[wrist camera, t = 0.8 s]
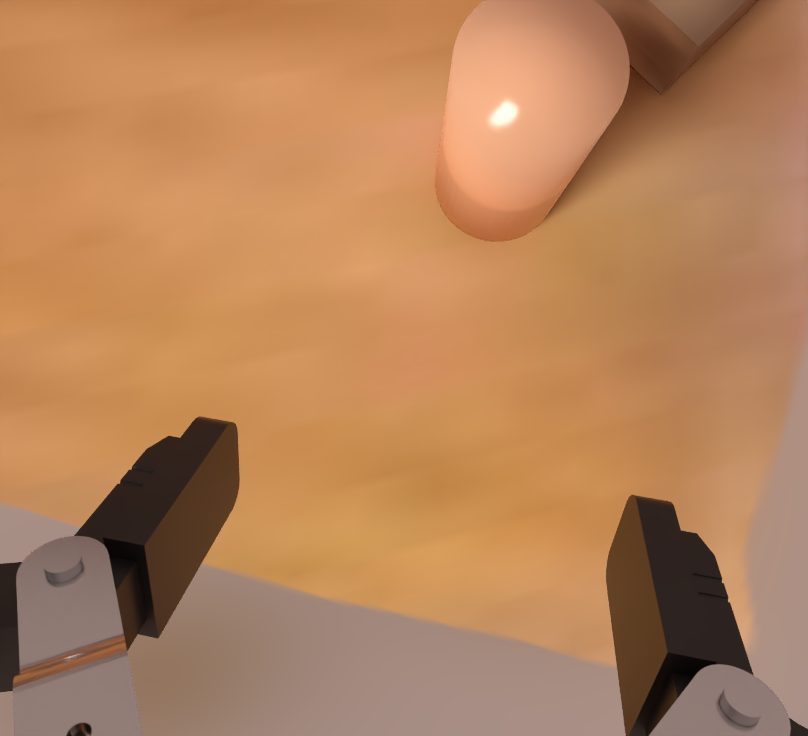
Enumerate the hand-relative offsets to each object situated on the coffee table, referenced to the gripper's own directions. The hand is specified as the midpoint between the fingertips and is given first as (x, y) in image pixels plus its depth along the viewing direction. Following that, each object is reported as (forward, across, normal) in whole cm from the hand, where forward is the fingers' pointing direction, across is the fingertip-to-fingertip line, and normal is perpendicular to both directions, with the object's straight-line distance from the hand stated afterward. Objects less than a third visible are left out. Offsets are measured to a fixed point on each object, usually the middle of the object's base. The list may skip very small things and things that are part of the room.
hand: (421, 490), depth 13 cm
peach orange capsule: (+22, 0, -1) cm, 22 cm away
